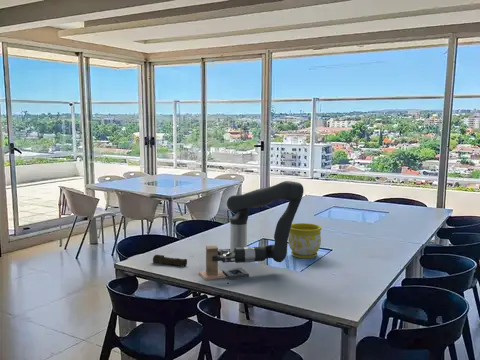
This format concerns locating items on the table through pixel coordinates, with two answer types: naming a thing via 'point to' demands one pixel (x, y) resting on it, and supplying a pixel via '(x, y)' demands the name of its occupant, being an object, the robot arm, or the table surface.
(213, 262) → the walnut block
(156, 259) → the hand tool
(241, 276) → the hole plate
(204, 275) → the tile
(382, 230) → the table surface
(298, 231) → the flowerpot
